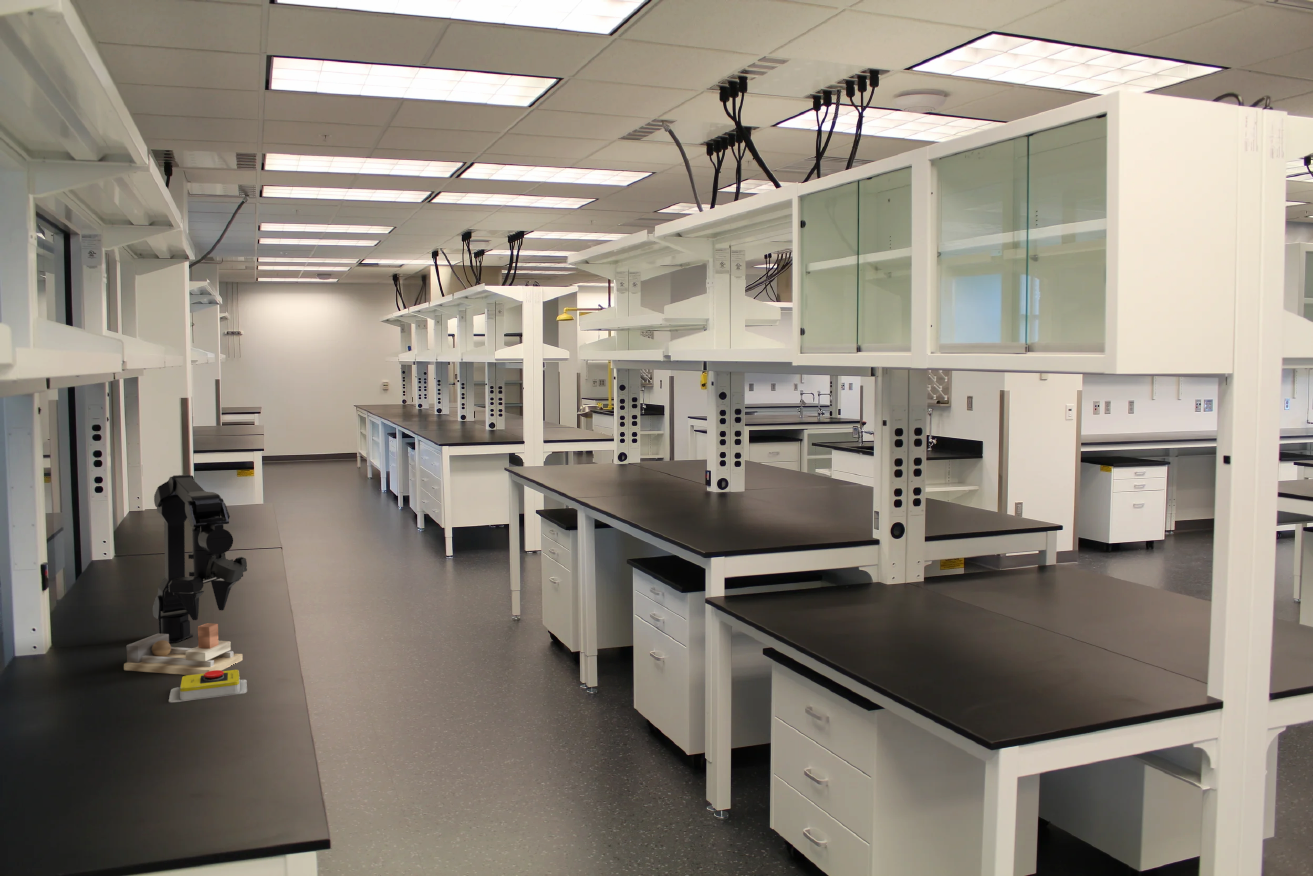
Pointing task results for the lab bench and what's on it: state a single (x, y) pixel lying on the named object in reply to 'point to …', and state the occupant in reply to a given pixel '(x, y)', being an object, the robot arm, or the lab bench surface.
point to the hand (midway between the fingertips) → (208, 615)
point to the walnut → (161, 648)
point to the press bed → (173, 659)
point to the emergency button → (209, 686)
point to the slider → (208, 644)
